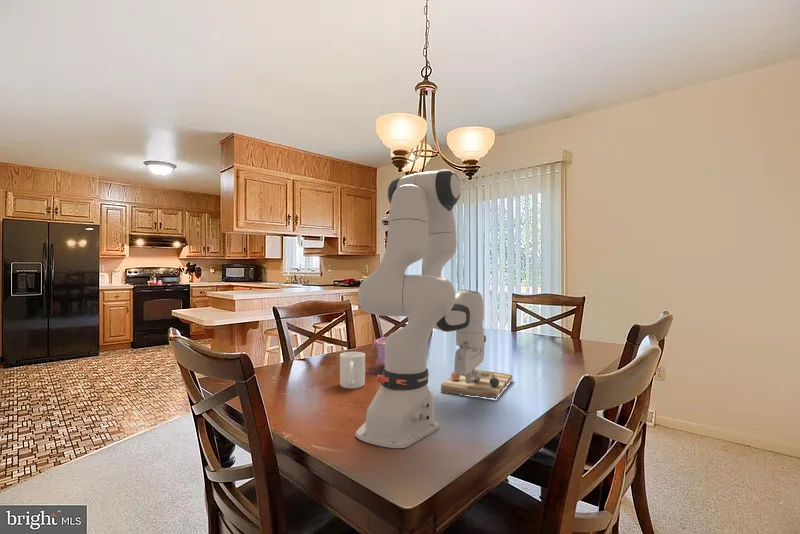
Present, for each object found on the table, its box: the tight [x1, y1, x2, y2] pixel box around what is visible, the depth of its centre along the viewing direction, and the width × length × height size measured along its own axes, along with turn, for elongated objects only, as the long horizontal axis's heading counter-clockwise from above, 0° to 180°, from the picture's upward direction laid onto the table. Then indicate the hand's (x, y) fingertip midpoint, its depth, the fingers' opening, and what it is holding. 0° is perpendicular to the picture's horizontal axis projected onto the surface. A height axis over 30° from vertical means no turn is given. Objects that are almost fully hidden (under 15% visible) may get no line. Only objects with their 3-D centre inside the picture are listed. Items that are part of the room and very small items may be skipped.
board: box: [440, 369, 513, 399], centre depth 137 cm, size 24×18×2 cm
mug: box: [339, 351, 366, 390], centre depth 136 cm, size 9×12×11 cm
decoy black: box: [490, 377, 499, 387], centre depth 128 cm, size 3×3×3 cm
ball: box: [473, 371, 481, 382], centre depth 134 cm, size 4×4×4 cm
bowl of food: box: [375, 336, 388, 367], centre depth 159 cm, size 20×20×12 cm
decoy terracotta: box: [450, 370, 460, 380], centre depth 135 cm, size 3×3×3 cm
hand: (469, 382), depth 128 cm, fingers closed
